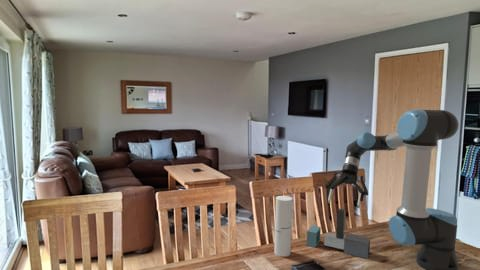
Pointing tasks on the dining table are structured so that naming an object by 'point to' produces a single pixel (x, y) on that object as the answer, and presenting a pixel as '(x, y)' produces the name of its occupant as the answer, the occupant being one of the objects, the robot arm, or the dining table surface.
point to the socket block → (313, 236)
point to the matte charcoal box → (357, 245)
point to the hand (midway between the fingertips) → (343, 204)
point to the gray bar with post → (337, 232)
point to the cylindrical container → (283, 226)
